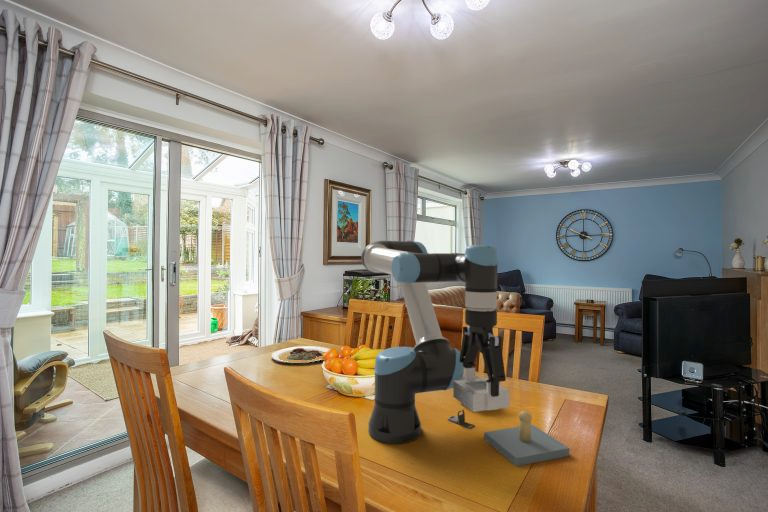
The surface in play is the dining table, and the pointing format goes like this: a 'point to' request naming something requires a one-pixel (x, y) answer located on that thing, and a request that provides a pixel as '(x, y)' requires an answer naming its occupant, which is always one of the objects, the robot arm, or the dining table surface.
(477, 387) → the grey square ring block
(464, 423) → the strap clip
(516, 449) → the keeper
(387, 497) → the dining table surface
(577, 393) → the dining table surface
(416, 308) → the robot arm
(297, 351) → the plated food
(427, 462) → the dining table surface
